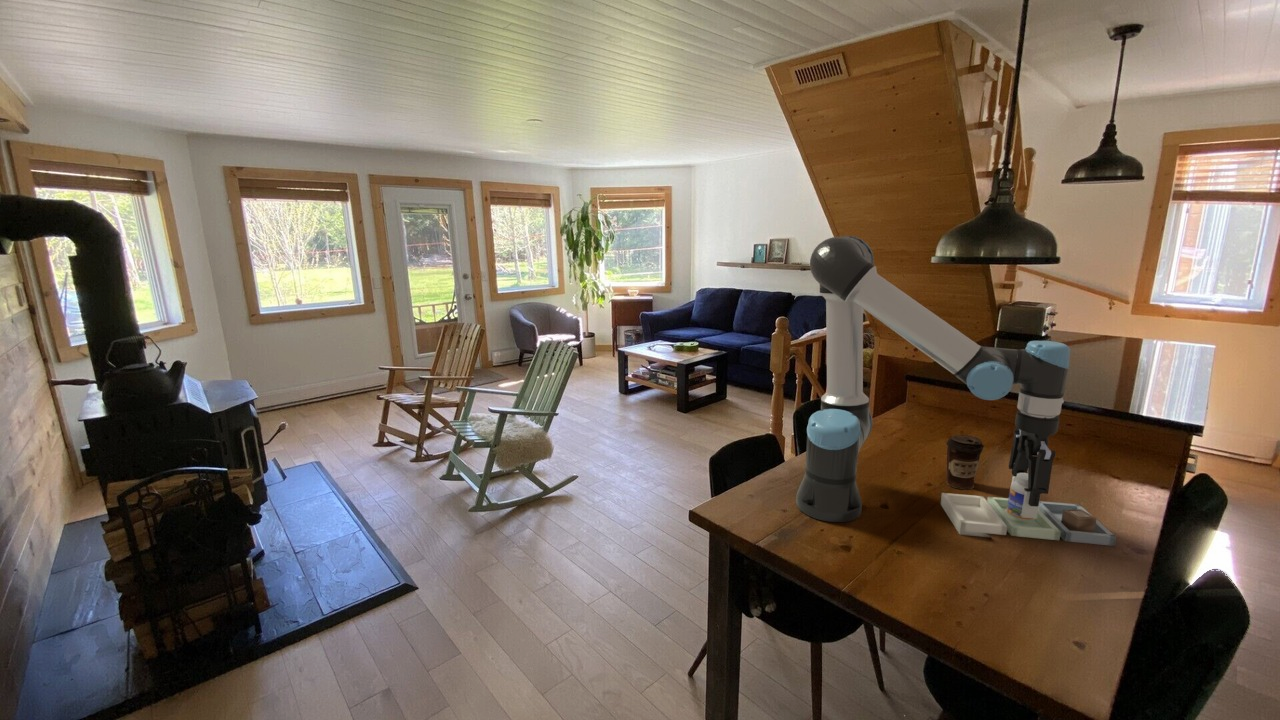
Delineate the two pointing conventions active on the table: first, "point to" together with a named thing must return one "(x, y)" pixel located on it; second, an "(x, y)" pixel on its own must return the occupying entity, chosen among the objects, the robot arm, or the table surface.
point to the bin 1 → (972, 515)
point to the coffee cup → (962, 460)
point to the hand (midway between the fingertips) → (1022, 509)
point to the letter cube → (1078, 520)
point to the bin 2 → (1098, 537)
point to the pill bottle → (1017, 497)
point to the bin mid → (1025, 522)
